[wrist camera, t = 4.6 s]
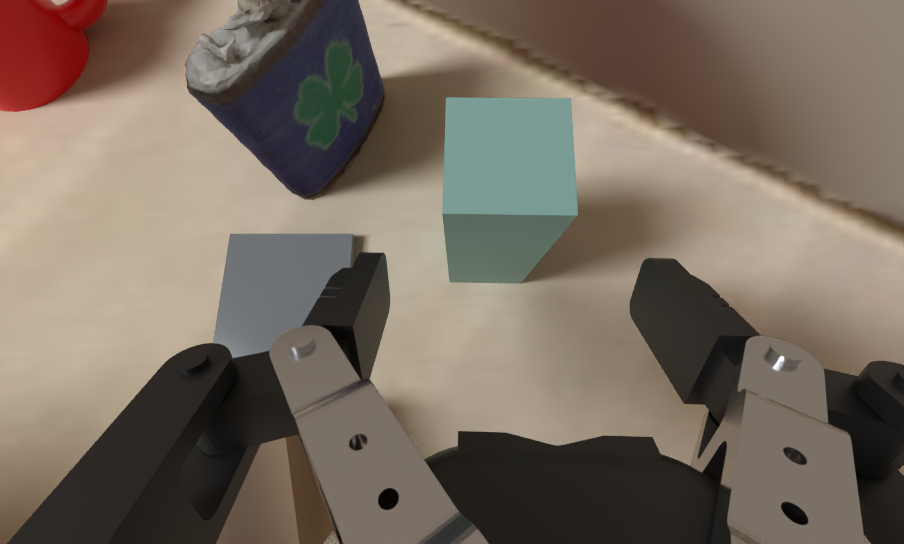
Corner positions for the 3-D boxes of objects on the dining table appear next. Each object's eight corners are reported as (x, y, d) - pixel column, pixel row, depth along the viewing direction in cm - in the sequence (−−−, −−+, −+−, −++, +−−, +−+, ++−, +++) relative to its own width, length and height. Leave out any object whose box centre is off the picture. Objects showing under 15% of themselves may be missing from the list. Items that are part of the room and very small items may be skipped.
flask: (360, 74, 24) (285, -145, 13) (399, 92, 23) (352, -119, 13) (280, 189, 22) (121, 39, 12) (321, 211, 22) (194, 76, 11)
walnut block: (244, 540, 18) (164, 608, 13) (233, 433, 19) (156, 459, 14) (344, 513, 18) (302, 570, 13) (328, 409, 19) (284, 426, 14)
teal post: (449, 282, 21) (442, 213, 11) (451, 215, 21) (445, 97, 12) (520, 283, 20) (578, 215, 11) (519, 216, 21) (570, 98, 12)
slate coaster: (224, 360, 20) (210, 360, 19) (242, 240, 22) (230, 233, 21) (350, 360, 20) (343, 361, 19) (358, 240, 22) (352, 234, 21)
